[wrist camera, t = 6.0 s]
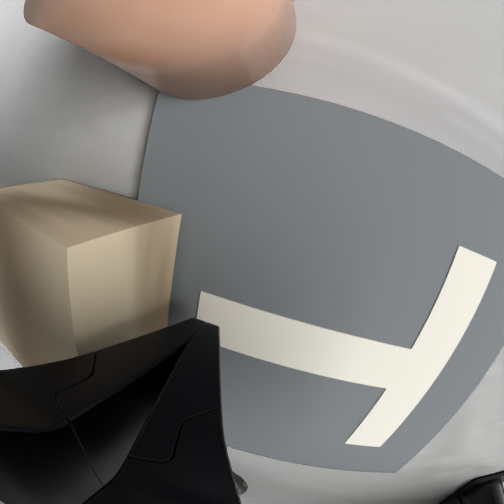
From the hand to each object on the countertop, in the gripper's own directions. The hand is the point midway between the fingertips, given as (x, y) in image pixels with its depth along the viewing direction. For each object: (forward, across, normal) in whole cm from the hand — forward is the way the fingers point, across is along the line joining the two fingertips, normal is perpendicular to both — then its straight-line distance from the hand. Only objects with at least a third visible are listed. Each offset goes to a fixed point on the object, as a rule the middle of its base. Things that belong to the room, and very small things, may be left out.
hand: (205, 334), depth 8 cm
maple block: (+1, +4, 0) cm, 5 cm away
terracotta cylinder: (+1, +2, -9) cm, 9 cm away
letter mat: (+1, -4, 0) cm, 4 cm away
